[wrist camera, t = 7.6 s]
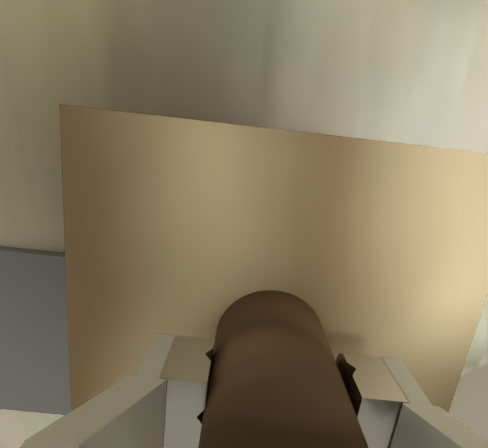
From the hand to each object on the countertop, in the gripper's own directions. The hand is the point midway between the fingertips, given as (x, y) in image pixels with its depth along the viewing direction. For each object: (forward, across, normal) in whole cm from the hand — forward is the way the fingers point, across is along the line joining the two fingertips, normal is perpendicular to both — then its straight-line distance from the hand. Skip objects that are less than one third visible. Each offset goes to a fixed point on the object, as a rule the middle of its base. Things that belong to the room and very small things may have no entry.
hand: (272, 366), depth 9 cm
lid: (+2, 0, 0) cm, 2 cm away
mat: (+14, +14, +10) cm, 22 cm away
